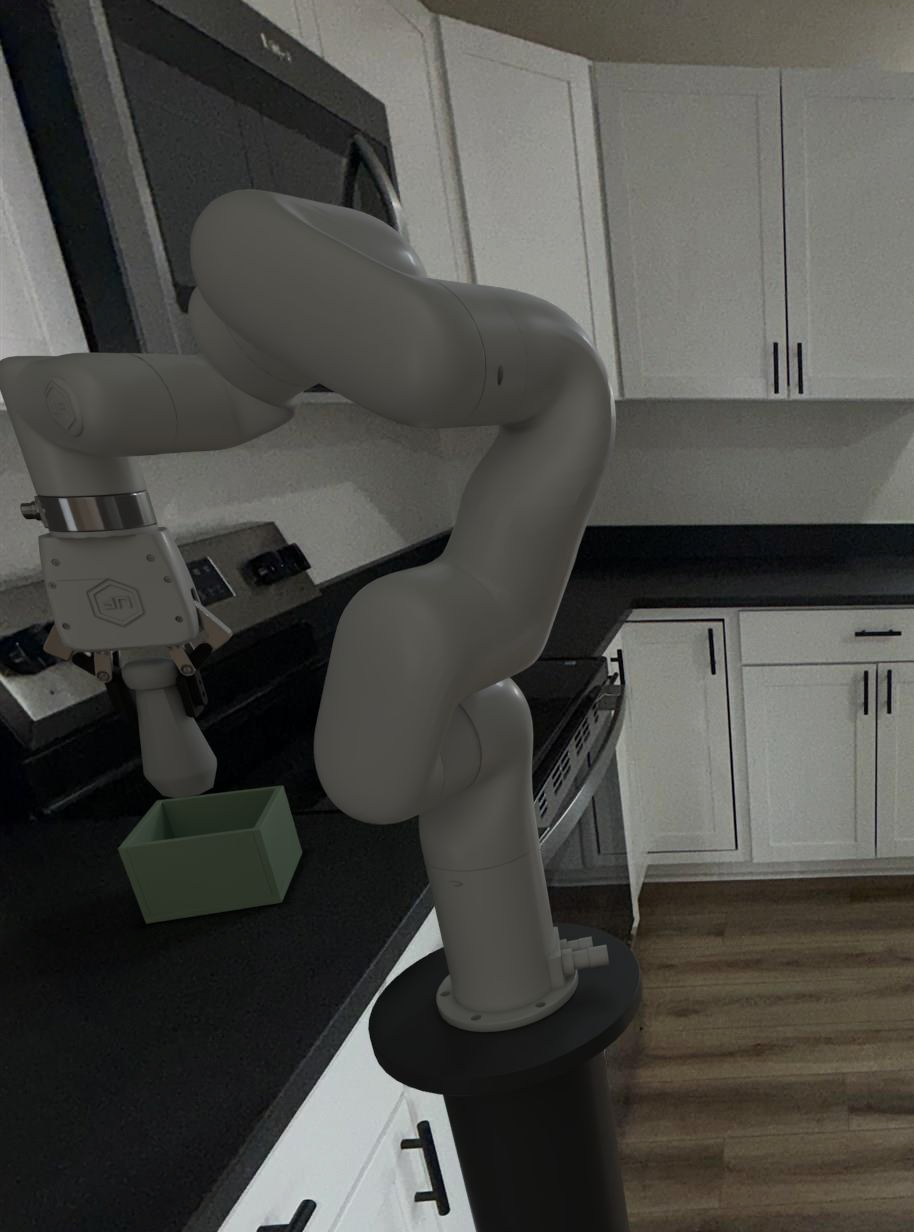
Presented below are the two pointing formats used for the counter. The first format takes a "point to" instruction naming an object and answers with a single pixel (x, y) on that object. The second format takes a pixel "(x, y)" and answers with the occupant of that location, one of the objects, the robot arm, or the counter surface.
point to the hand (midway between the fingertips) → (165, 714)
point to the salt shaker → (168, 731)
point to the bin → (212, 853)
